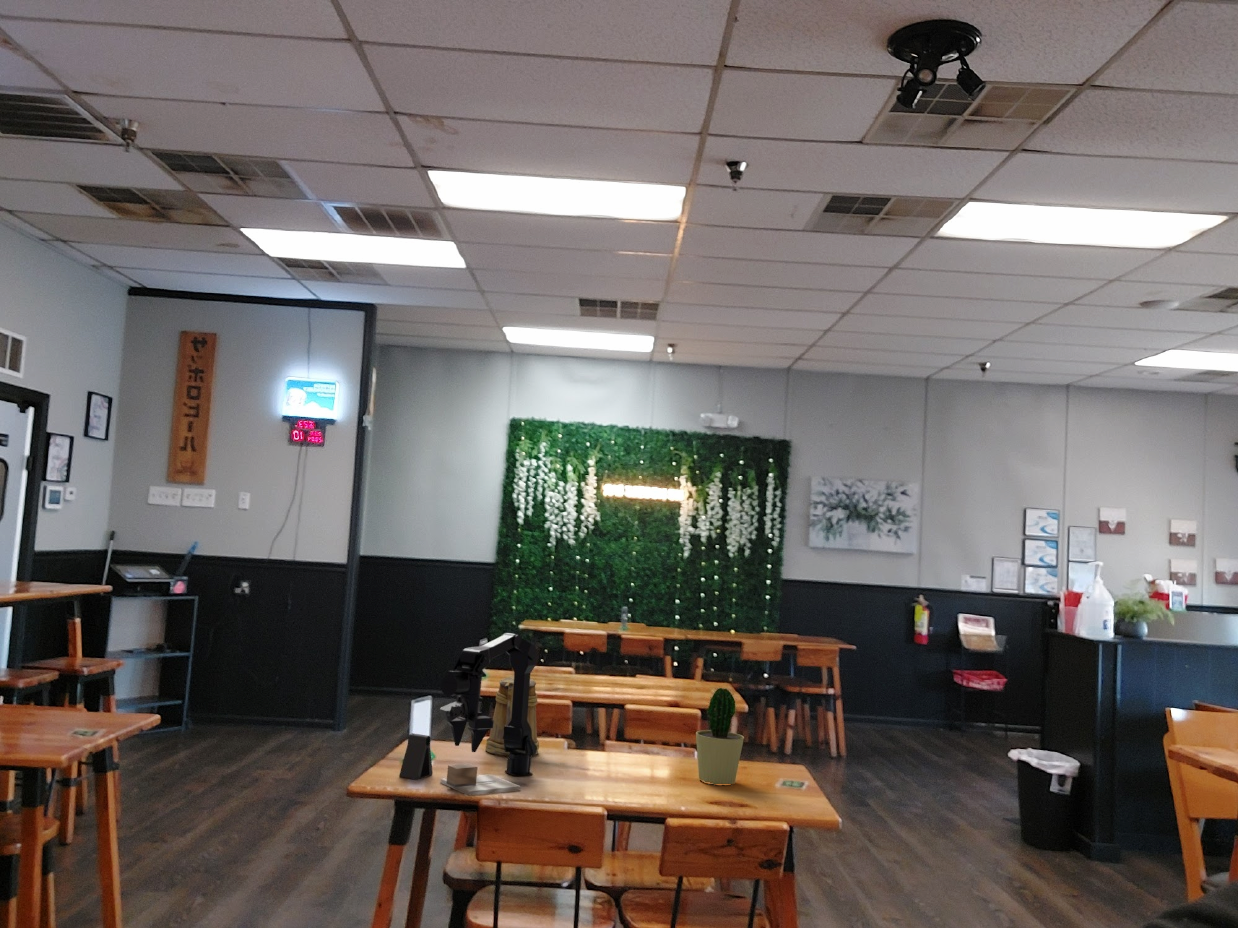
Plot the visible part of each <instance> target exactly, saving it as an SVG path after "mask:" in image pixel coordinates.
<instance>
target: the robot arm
mask: <svg viewBox="0 0 1238 928" xmlns="http://www.w3.org/2000/svg"><path fill="white" fill-rule="evenodd" d="M504 653H506V654H507V655H508V656H509V664H510V667H511V668H512V671H513V676H514V685H513V699H512V714H511V721H510V722H509V724H508V725H507V726H504V735H503V740H504V747H505V752H509V757H508V758H507V762H506V770H504V773H507V774H509V775H512V776H514V777H524V776H525V777H526V776H533V775H534V773H533V772H531V762H532V757H534V756H536V755H537V754H536V751H537V746H536V745H535V743H534V741H533V739H532V729H531V727H530V725H529V723H528V721H527V716H528V702H529V687H530V679H531V673H532V671H533V670H534V669H535V667H536V666H537V661H538V657H539V651H538V648H537V647H536V645H534V644H532V643H531V642H529V641H527V640H526V639H524V638H522V636H520V634H517V633H510V632H505V633H503V634H502V635H501V636H499V637H497V638H495V639H493V640H491V641H489V642H487V643H485V644H483V645H480V646H471V647H466V648H464V649H462V650H461V653H460V654H459V656H458V657H457V660H456V662H455V663H454V665H453V666H452V669H451V670H447V675H444V677H443V678H442V680H441V681H440V682H441V683H440V690H441V692H442V693H443V694H444V695H445V696H447V697H451V696H452V697H453V696H456V697H455V700H454V702H450V703H448V704H445V705H444V706H441V707H440V708H439V711H440V715H441V719H442V720H444V721H445V723H447V724H448V725H449V726H450V727H451V733H452V737H453V742H454V746H456V747H458V746H460V744H461V741H462V739H463V736H464V731H465V729H466V726H467V723H468V726H469V727H467V729H468V731H469V732H470V734H471V736H470V737H471V741H470V742H471V743H470V744H471V747H470V748H471V752H472V753H476V752H477V750H478V749H479V747H480V745H481V743H482V741H483V739H484V738H485V737H486V735H487V733H488V732H489V731H491V728H493V725H494V721H493V717H490V716H486V715H482V714H483V713H482V711H480V703H481V702H483V701H484V698H483V697H481V691H482V689H481V687H482V682H483V681H482V678H486V677H487V673H486V672H485V671H484V669H486V668H487V667H488V666H489V665H490V662H491V661H492V660H493V659H494V658H496V657H498V656H501V655H502V654H504ZM535 754H536V755H535Z"/></svg>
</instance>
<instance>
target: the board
mask: <svg viewBox="0 0 1238 928" xmlns="http://www.w3.org/2000/svg"><path fill="white" fill-rule="evenodd" d="M440 784H442V785H445V786H447V787H448V788H452V790H453V789H454V790H456V791H457V792H460V793H462V794H465V795H466V796H469V797H470V796H480V795H488V794H489V795H490V794H499V793H508V792H517V791H518V792H519V791H521V787H522V786H521V785H518V784H516V783H514V782H511V781H508V780H507V779H504V778H501V777H499V776H497V775H494V774H492V773H489V774H479V775H478V774H477V779H476V785H469V786H459V787H454V786H451V785H449V784H447V777H444V778H440Z"/></svg>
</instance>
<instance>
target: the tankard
mask: <svg viewBox="0 0 1238 928" xmlns="http://www.w3.org/2000/svg"><path fill="white" fill-rule="evenodd" d="M513 685H514V675H513V676H507V677H504V678H502V679H500V680H499V688H498V690H497V691H496V694H495V701H496V702H495V708H494V713H493V716H492V719H493V721H494V725H493V728H491V729H490V732H489V736H488V738H486V744H485V751H486V752H488V753H489V754H492V755H494V756H500V757H508V758H509V752H505V747H504V740H503V735H504V726H507V725H508V724H509V722H510V721H511V714H512V699H513ZM536 685H537V682H536V681H535V680H534V679H533V678H530V687H529V702H528V716H527V721H528V723H529V725H530V727H531V729H532V739H533V741H534V743H535V745H536V746H537V751H536V754H535V755H534V756H536V755H537V754H538V753H539V749H540V745H539V743H540V742H539V741H540V740H538V732H537V729H538V728H537V708H536V707H537V705H538V693H537V692H536Z"/></svg>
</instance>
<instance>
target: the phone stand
mask: <svg viewBox="0 0 1238 928" xmlns="http://www.w3.org/2000/svg"><path fill="white" fill-rule="evenodd" d="M431 741H432V739H431V736H430V735H426V734H424V735H423V734H419V733H412V732H411V733H409V735H408V737H407V745H406V749H405V752H404V753H405V754H404V757H403V760H402V764H401V768H400V771H399V775H398V777H399V778H402V779H407V780H408V779H409V780H415V781H419V780H422V779H425V778H428V777H431V776H433V775H434V773H433V764H432V752H431V751H432V750H431Z"/></svg>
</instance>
